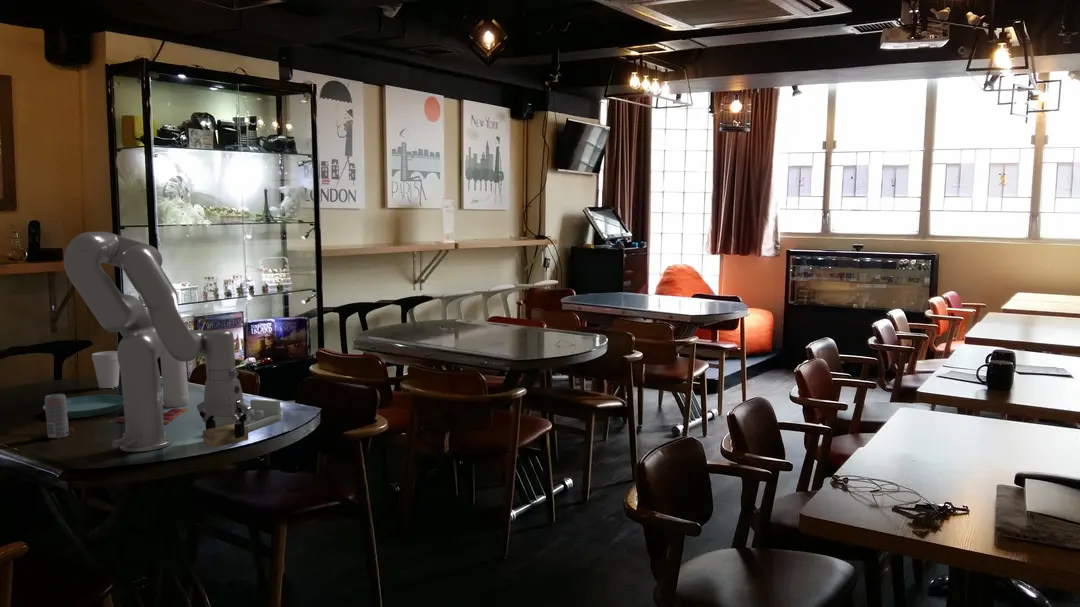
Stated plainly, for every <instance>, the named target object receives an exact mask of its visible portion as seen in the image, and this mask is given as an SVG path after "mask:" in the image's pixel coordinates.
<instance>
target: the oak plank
mask: <svg viewBox="0 0 1080 607" xmlns="http://www.w3.org/2000/svg"><path fill="white" fill-rule="evenodd" d="M236 424H237V423H236ZM234 425H235V424H231V425H226V426H222V427H217V428H212V429H207V430H206V429H203V430H202V439H203V440H202V441H203V445H206V446H209V447H212V448H217V447H223V446H227V445H230V443H231V444H235V443H234V442H236V443H240V442H244V441H247V440H249V433H248V426H244V430H245V435H244V436H243V437H241V438H238V439H237V438H235V428H234Z"/></svg>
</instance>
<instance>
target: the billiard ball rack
mask: <svg viewBox="0 0 1080 607" xmlns="http://www.w3.org/2000/svg"><path fill="white" fill-rule="evenodd" d="M187 410H188V411H189V408H179V407H174V408H171V409H169V410H168V411H163V420H164V425H166V426H168V425H169V422H170V421H171V422H172V420H173V419H174V420H175V418H176V417H177V418H178V416H179V415H180V416H182V415H183V414H185V413H186V412H188V411H187ZM185 411H186V412H185ZM184 412H185V413H184ZM182 413H183V414H182ZM181 414H182V415H181ZM180 416H179V417H180ZM177 418H176V419H177ZM174 420H173V421H174ZM116 422H117V423H118V422H121V424H125V416H119V417H117V418H116ZM171 422H170V423H171ZM167 424H168V425H167Z"/></svg>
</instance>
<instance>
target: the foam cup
mask: <svg viewBox="0 0 1080 607" xmlns="http://www.w3.org/2000/svg"><path fill="white" fill-rule="evenodd" d="M91 360H92V362H93V366H94V372H95V375H96V381H97V383H98V384H97V385H98V388H99V389H100V388H112V389H115V388H114V387H116V388H118V387H119V381H120V367H119V362H118V357H117V350H116V351H115V350H107V351H97V352H94V353H92V354H91ZM117 386H118V387H117Z"/></svg>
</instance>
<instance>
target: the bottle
mask: <svg viewBox="0 0 1080 607" xmlns="http://www.w3.org/2000/svg"><path fill="white" fill-rule="evenodd" d="M159 358H160V368H161V369H160V370H161V372H160V374H161V388H162V404H163V407H164V408H180V406H181V407H185V405H186V406H188V405H190V401H189V400H190V396H189V386H188V374H187V373H188V370H187V362H181V361H178V360H176V359H174V358H173V357H172V356H171V355H170V353H169V352H168V351H167V349H166V350H165V352H164V353H163V355H162V356H160V357H159ZM187 404H188V405H187Z"/></svg>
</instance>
